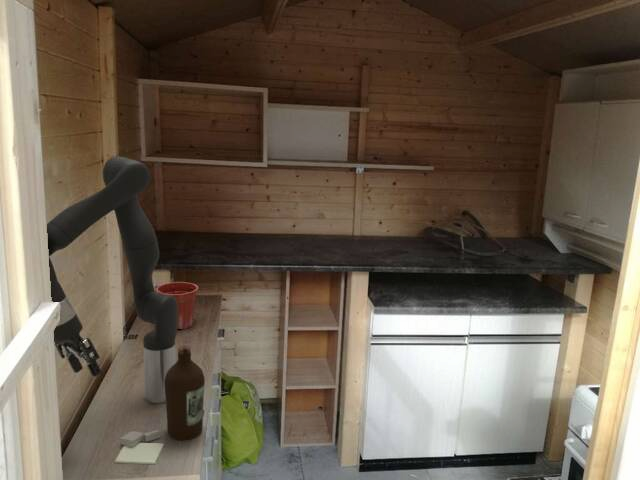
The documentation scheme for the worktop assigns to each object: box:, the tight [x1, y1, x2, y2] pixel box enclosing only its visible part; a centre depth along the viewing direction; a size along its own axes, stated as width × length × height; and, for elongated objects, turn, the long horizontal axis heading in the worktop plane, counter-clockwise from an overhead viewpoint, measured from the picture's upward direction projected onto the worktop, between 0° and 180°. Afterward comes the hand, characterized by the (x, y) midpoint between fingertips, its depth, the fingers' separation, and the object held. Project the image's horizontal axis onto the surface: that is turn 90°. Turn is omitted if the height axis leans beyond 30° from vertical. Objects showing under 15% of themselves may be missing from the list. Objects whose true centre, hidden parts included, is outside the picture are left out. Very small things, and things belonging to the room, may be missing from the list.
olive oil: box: [164, 344, 206, 441], centre depth 147 cm, size 11×11×25 cm
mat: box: [114, 442, 165, 465], centre depth 139 cm, size 8×10×1 cm
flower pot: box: [155, 281, 199, 330], centre depth 220 cm, size 16×16×16 cm
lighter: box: [119, 429, 161, 447], centre depth 144 cm, size 7×2×8 cm
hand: (87, 372), depth 137 cm, fingers open, 8 cm apart
